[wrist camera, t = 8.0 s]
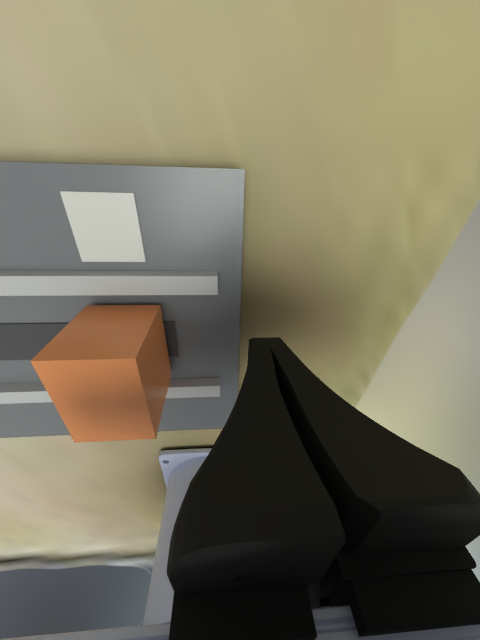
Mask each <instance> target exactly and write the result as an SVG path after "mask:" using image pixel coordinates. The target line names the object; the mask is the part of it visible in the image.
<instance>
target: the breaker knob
mask: <svg viewBox="0 0 480 640" xmlns="http://www.w3.org/2000/svg"><path fill="white" fill-rule="evenodd" d="M31 363H32V365H33V367H34V369H35V371H36V372H37V374H38V376H39V378H40V380H41V382H42V383H43V385H44V387H45V389H46V391H47V392H48V394H49V396H50V398H51V400H52V402H53V403H54V405H55V407H56V409H57V411H58V413H59V414H60V416H61V418H62V420H63V422H64V424H65V425H66V427H67V429H68V431H69V433H70V434H71V436H72V438H73V440H74V442H92V441H114V440H137V439H156V436H157V432H158V428H159V423H160V419H161V415H162V411H163V407H164V403H165V399H166V395H167V391H168V387H169V383H170V379H171V375H172V374H171V368H170V362H169V355H168V349H167V343H166V337H165V331H164V324H163V318H162V312H161V306H160V305H87V306H86V307H85V308H84V309H83V310H82V311H81V312H80V313H79V314H78V315H77V316H76V317H75V318H74V319H73V320H72V321H71V322H70V323H68V324H67V325H66V326H65V327H64V328H63V329H62V330H61V331H60V332H59V333H58V334H57V335H56V336H55V337H54V338H53V339H52V340H51V341H50V342H49V343H48V344H47V345H46V346H45V347H44V348H43V349H42V350H41V351H40V352H39V353H38V354H37V355H36V356H35V357H34V358H33V359H32V360H31Z"/></svg>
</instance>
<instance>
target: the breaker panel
mask: <svg viewBox="0 0 480 640" xmlns="http://www.w3.org/2000/svg"><path fill="white" fill-rule="evenodd" d="M244 180H245V169H224V168H193V167H161V166H130V165H99V164H67V163H36V162H5V161H0V438H9V437H32V436H56V435H71V434H70V433H69V431H68V429H67V427H66V425H65V424H64V422H63V420H62V418H61V416H60V414H59V413H58V411H57V409H56V407H55V405H54V403H53V402H52V400H51V398H50V396H49V394H48V392H47V391H46V389H45V387H44V385H43V383H42V382H41V380H40V378H39V376H38V374H37V372H36V371H35V369H34V367H33V365H32V363H31V360H32V359H33V358H34V357H35V356H36V355H37V354H38V353H39V352H40V351H41V350H42V349H43V348H44V347H45V346H46V345H47V344H48V343H49V342H50V341H51V340H52V339H53V338H54V337H55V336H56V335H57V334H58V333H59V332H60V331H61V330H62V329H63V328H64V327H65V326H66V325H67V324H68V323H70V322H71V321H72V320H73V319H74V318H75V317H76V316H77V315H78V314H79V313H80V312H81V311H82V310H83V309H84V308H85V307H86V306H87V305H160V306H161V312H162V318H163V324H164V331H165V337H166V343H167V349H168V355H169V362H170V368H171V374H172V375H171V379H170V383H169V387H168V391H167V395H166V399H165V403H164V407H163V411H162V415H161V419H160V423H159V428H158V431H173V430H196V429H220V428H224V426H225V424H226V422H227V420H228V418H229V415H230V413H231V411H232V409H233V407H234V405H235V402H236V400H237V397H238V374H239V342H240V309H241V277H242V245H243V212H244Z"/></svg>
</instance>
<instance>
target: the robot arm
mask: <svg viewBox="0 0 480 640" xmlns="http://www.w3.org/2000/svg"><path fill="white" fill-rule="evenodd" d="M159 462H160V466H161V470H162V473H163V477H164V481H165V485H166V489H167V491H166V497H165V502H164V508H163V514H162V520H161V526H160V531H159V537H158V543H157V549H156V555H155V560H154V566H153V572H152V578H151V584H150V589H149V595H148V601H147V607H146V612H145V618H144V624H143V625H142V626H132V627H122V628H111V629H101V630H90V631H81V632H70V633H61V634H49V635H39V636H28V637H18V638H8V639H0V640H480V582H479V581H478V579H477V578H476V576H475V574H474V573H473V571H472V570H471V569H474V568H475V567H476V563H475V561H474V559H473V557H472V556H471V554H470V553H469V552H468V550H467V548H466V547H465V546H466V545H467V544H469V543H470V542H471V541H473V540H474V539H475V538H477V537H478V536H479V535H480V494H479V492H478V491H477V490H476V489H475V487H474V486H473V485H472V484H471V482H470V481H469V480H468V479H467V477H466V476H465V475H464V474H463V473H462V472H461V470H460V469H458V468H456V467H455V466H453V465H451V464H449V463H447V462H445V461H443V460H441V459H439V458H437V457H435V456H433V455H432V454H429V453H428V452H426V451H424V450H422V449H420V448H418V447H416V446H414V445H413V444H411V443H409V442H407V441H406V440H404V439H402V438H401V437H399V436H397V435H396V434H394V433H392V432H391V431H389V430H387V429H386V428H384V427H383V426H381V425H379V424H378V423H376V422H375V421H373V420H372V419H370V418H369V417H367V416H366V415H364V414H363V413H361V412H360V411H358V410H357V409H356V408H354V407H353V406H351V405H350V404H349V403H347V402H346V401H345V400H344V399H342V398H341V397H340V396H339V395H337V394H336V393H335V392H333V391H332V390H331V389H330V388H329V387H327V386H326V385H325V384H324V383H323V382H322V381H321V380H320V379H319V378H317V377H316V376H315V375H314V374H313V373H312V372H311V371H310V370H309V369H308V368H307V367H306V366H305V365H304V364H303V363H302V362H301V361H300V359H299V358H298V357H297V356H296V355H295V354H294V353H293V352H292V351H291V350H290V348H289V347H288V346H287V345H286V344H285V343H284V342H283V341H282V339H281V338H251V339H250V340H249V349H248V366H247V370H246V374H245V377H244V380H243V383H242V387H241V389H240V392H239V395H238V397H237V400H236V402H235V405H234V407H233V409H232V411H231V413H230V415H229V418H228V420H227V422H226V424H225V426H224V428H223V430H222V431H221V433H220V435H219V437H218V438H217V440H216V442H215V444H214V445H213V447H212V448H202V449H181V450H164V451H161V452H160V453H159Z"/></svg>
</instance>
